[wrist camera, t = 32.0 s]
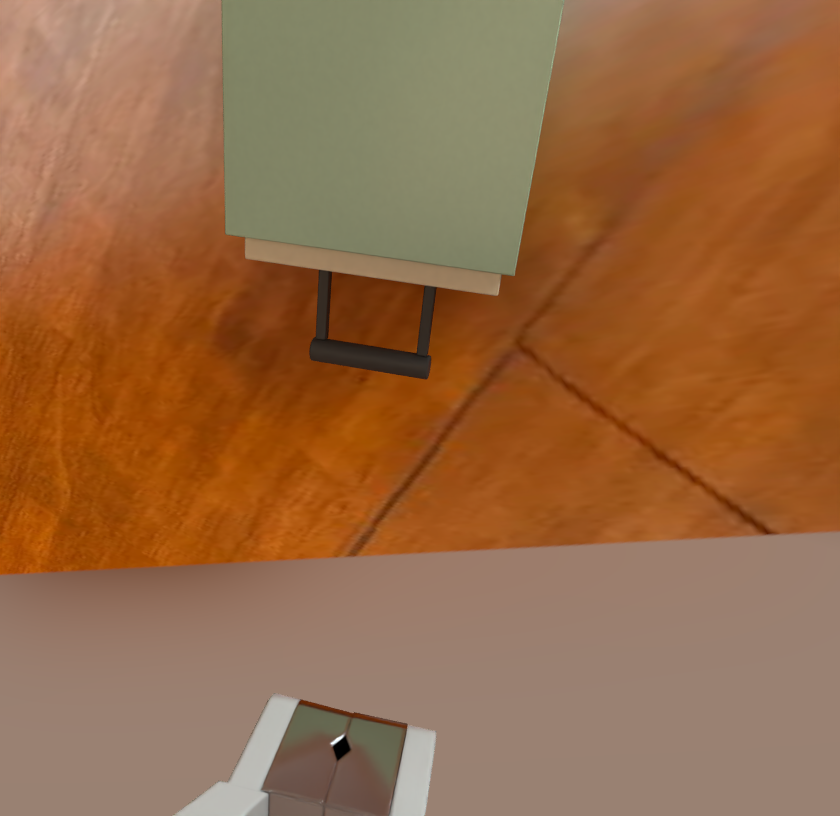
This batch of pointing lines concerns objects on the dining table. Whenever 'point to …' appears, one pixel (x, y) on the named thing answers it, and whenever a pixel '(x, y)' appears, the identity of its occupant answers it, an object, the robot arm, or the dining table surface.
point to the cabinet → (386, 124)
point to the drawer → (374, 268)
